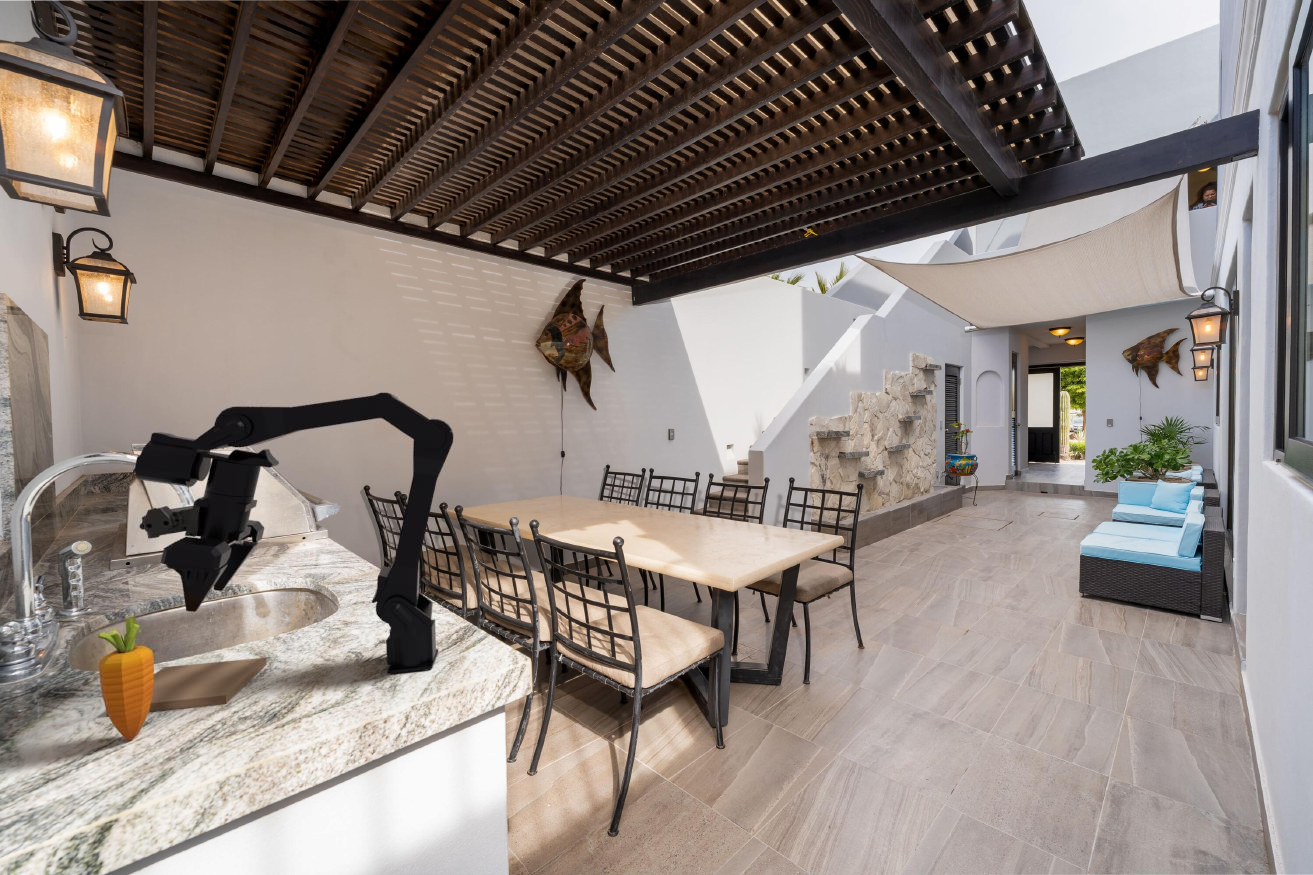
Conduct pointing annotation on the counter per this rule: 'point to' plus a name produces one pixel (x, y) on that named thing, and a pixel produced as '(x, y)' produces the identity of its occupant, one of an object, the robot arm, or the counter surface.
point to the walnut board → (202, 683)
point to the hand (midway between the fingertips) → (205, 600)
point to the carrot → (127, 680)
